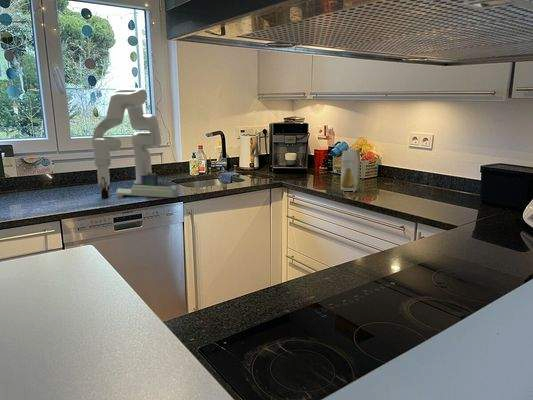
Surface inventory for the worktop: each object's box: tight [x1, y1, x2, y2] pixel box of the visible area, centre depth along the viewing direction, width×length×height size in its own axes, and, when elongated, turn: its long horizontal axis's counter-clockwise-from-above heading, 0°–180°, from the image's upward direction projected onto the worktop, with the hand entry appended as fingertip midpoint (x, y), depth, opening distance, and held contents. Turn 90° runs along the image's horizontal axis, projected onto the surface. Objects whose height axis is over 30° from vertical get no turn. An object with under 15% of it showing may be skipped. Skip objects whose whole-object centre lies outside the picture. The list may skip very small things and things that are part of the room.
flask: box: [140, 171, 159, 186], centre depth 233 cm, size 9×3×11 cm, turn 109°
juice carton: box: [340, 147, 361, 193], centre depth 227 cm, size 9×8×24 cm
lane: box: [115, 184, 178, 199], centre depth 215 cm, size 11×30×6 cm, turn 106°
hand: (105, 196), depth 210 cm, fingers open, 8 cm apart
